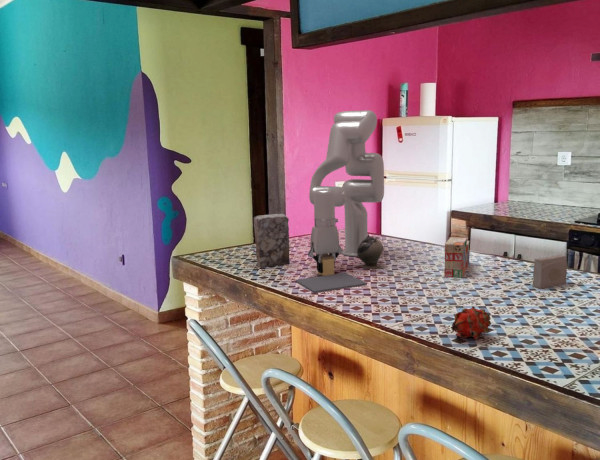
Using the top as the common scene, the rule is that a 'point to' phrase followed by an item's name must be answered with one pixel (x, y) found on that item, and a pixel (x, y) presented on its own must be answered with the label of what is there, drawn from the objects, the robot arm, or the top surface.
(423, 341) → the top surface
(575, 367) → the top surface
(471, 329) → the dragon fruit
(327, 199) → the robot arm
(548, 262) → the taupe upright slab
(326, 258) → the block
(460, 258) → the stack of blocks
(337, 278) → the mat
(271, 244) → the stone block
